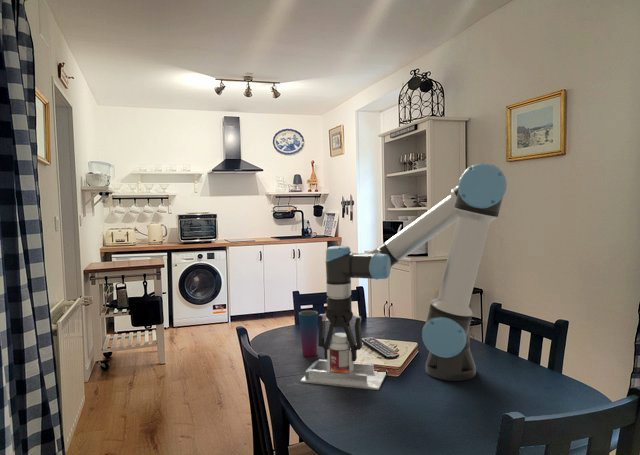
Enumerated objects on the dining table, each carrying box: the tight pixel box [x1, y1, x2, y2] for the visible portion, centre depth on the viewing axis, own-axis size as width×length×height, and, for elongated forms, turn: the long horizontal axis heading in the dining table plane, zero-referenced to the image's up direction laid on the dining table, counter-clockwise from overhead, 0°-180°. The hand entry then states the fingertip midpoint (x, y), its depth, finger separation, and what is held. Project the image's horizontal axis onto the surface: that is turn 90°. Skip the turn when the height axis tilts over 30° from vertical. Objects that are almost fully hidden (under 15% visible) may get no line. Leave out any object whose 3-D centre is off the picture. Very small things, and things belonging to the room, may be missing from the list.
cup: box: [298, 310, 319, 357], centre depth 166 cm, size 7×7×15 cm
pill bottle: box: [330, 332, 351, 373], centre depth 144 cm, size 6×6×11 cm
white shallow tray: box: [300, 358, 387, 391], centre depth 144 cm, size 24×14×3 cm, turn 72°
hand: (340, 369), depth 144 cm, fingers closed on pill bottle, 6 cm apart
